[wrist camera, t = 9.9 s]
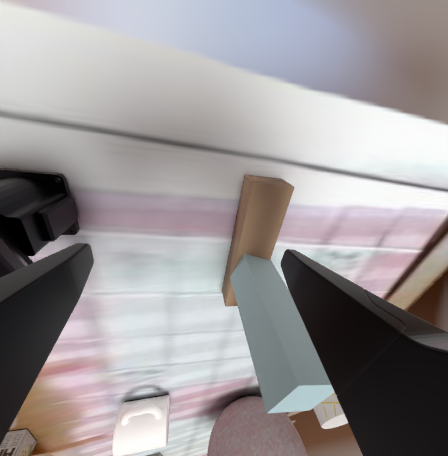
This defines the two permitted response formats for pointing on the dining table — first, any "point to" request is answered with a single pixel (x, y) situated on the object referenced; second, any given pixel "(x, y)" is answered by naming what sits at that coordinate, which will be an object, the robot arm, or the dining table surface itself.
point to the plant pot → (254, 431)
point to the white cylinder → (330, 412)
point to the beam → (256, 224)
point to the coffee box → (17, 443)
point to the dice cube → (156, 454)
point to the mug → (141, 425)
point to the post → (277, 339)
